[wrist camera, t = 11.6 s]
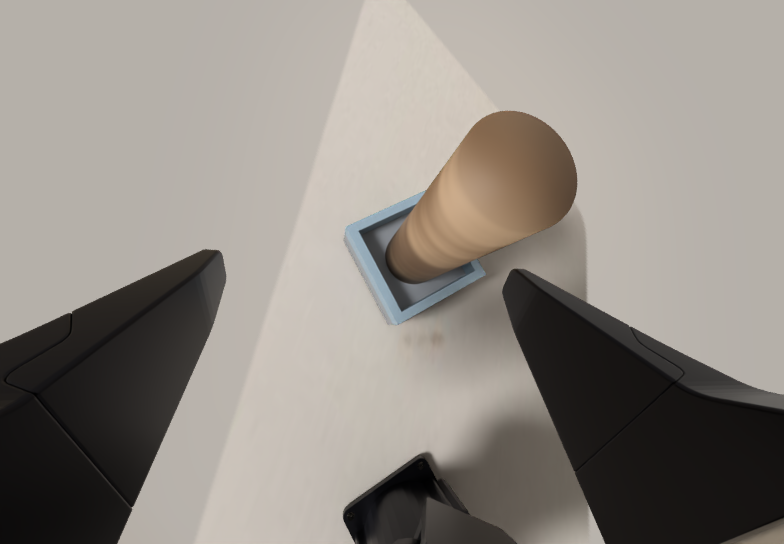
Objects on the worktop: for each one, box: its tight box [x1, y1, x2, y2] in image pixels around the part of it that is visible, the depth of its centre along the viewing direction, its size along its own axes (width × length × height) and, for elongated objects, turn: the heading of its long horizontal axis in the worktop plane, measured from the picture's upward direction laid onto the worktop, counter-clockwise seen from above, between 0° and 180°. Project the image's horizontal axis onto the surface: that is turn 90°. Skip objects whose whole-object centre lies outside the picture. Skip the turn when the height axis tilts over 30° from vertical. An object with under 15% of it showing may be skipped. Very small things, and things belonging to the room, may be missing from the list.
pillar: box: [385, 111, 577, 284], centre depth 16 cm, size 4×4×13 cm
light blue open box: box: [344, 190, 486, 325], centre depth 22 cm, size 7×7×4 cm
